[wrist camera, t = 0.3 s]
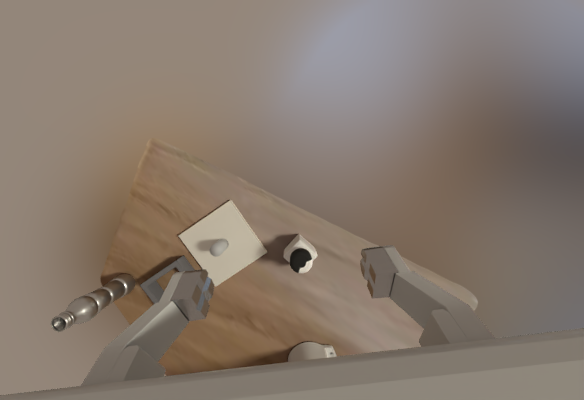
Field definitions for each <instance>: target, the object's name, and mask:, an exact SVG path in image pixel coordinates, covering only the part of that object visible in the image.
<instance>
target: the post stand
mask: <svg viewBox="0 0 584 400" xmlns="http://www.w3.org/2000/svg"><path fill="white" fill-rule="evenodd" d="M179 237H180V239H181V240H182V242H183V243H184V244H185V246H186V247H187V248H188V250H189V251H190V252H191V254H192V255H193V256H194V258H195V259H196V261H197V262H198V263H199V265H200V266H201V267H202V269H206V270H207V272H208V277H209V278H211V279H212V281H213V284H214V285H215V286H217V285H219V284H220V283H222V282H223V281H225V280H226V279H228V278H229V277H231V276H232V275H234V274H235V273H237V272H238V271H240V270H241V269H243V268H245V267H246V266H248V265H249V264H251V263H252V262H254V261H255V260H257V259H258V258H260V257H261V256H263V255H264V254H266V253H267V250H266V248H265V247H264V246H263V244H262V243H261V241H260V240H259V239H258V237H257V236H256V234H255V233H254V231H253V230H252V229H251V227H250V226H249V224H248V223H247V222H246V220H245V219H244V217H243V216H242V214H241V213H240V212H239V210H238V209H237V207H236V206H235V204H234V203H233V202H232V200H230V201H228V202H227V203H225V204H224V205H223V206H221V207H220V208H218V209H217V210H215V211H214V212H212V213H211V214H209V215H208V216H206V217H205V218H204V219H202V220H201V221H199V222H198V223H196V224H195V225H193V226H192V227H190V228H189V229H188V230H186V231H185V232H183V233H182V234H180V235H179Z"/></svg>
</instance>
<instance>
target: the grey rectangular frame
mask: <svg viewBox="0 0 584 400" xmlns="http://www.w3.org/2000/svg"><path fill="white" fill-rule="evenodd" d="M175 267H176V268H177V269H178V270H179V272H183V271H192V270H194V269H193V267H192V266H191V264H190V263H189V262H188V260H187V259H186V258H185V256H182V257H181V258H179V259H178V260H176V261H175V262H173V263H172V264H170V265H169V266H167V267H166V268H164V269H163V270H161V271H160V272H158V273H157V274H155V275H154V276H153V277H151V278H150V279H148V280H147V281H145V282H144V283H142V284H141V285H140V286H141V287H142V289H143V290H144V291H145V292H146V294H147V295H148V296H149V298H150V299H151V300H152V302H153V303H154V304H155V303H158V302H159V301H160V299H161V297H162V295H163V293H164V291H163V289H162V288H161V287H160V285H159V284H158V283H157V281H156V280H157V279H158V278H160V277H161V276H163V275H164V274H166V273H167V272H169V271H170V270H172V269H173V268H175Z"/></svg>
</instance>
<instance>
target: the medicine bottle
mask: <svg viewBox="0 0 584 400" xmlns="http://www.w3.org/2000/svg"><path fill="white" fill-rule="evenodd" d="M316 257H317V252H316V250H315V247H313V246H312V245H311V244H310V243H309V242H308V241H307V240H306V239H305V238H303V237H302V236H301V235H300V234H298V235H297V236H296V237H295V238H294V239H293V240H292V241H291V242H290V244H289V245H288V246H287V247H286V248H285V249H284V258H285V259H286V260H287V261H288V262H289V263H290V266H291V268H292V269H293V270H294V271H295V272H297V273H305V272H307V271H308V270H310V268H311V267H312V263H313V262H312V261H313V260H314V259H315V258H316Z"/></svg>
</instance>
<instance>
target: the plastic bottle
mask: <svg viewBox="0 0 584 400" xmlns="http://www.w3.org/2000/svg"><path fill="white" fill-rule="evenodd" d="M134 287H135V279H134V278H133V276H131V275H129V274H122V275H119V276H117V277H115V278H114V279H112V280H111V281H110V282H109V283H107V284H106V285H104V286H103V287H101V288H99V289H98V290H95V291H93V292H91V293H89V294H86V295H84V296H81V297H79V298H77V299H75V300H74V301H73V302H71V303H70V304H69V306H68V307H67V309H66V311H65V312H62V313H61V314H59V315H58V316H56V317H54V318H53V319H52V321H51V326H52V328H53V329H54V330H55V331H58V332H60V331H63V330H65V329H67V328H69V327H71V326H72V325H73V324H81V323H84V322H87V321H89V320H91V319H92V318H93V317H94V316H96V315H97V314H98V313H99V312H100V311H101V310H102V309H104V308H105V307H106V306H108V305H109V304H110V303H112V302H114V301H115V300H117V299H119V298H121V297H123V296H125V295H127V294H129V293H130V292H131V291H132V290H133V289H134Z"/></svg>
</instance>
